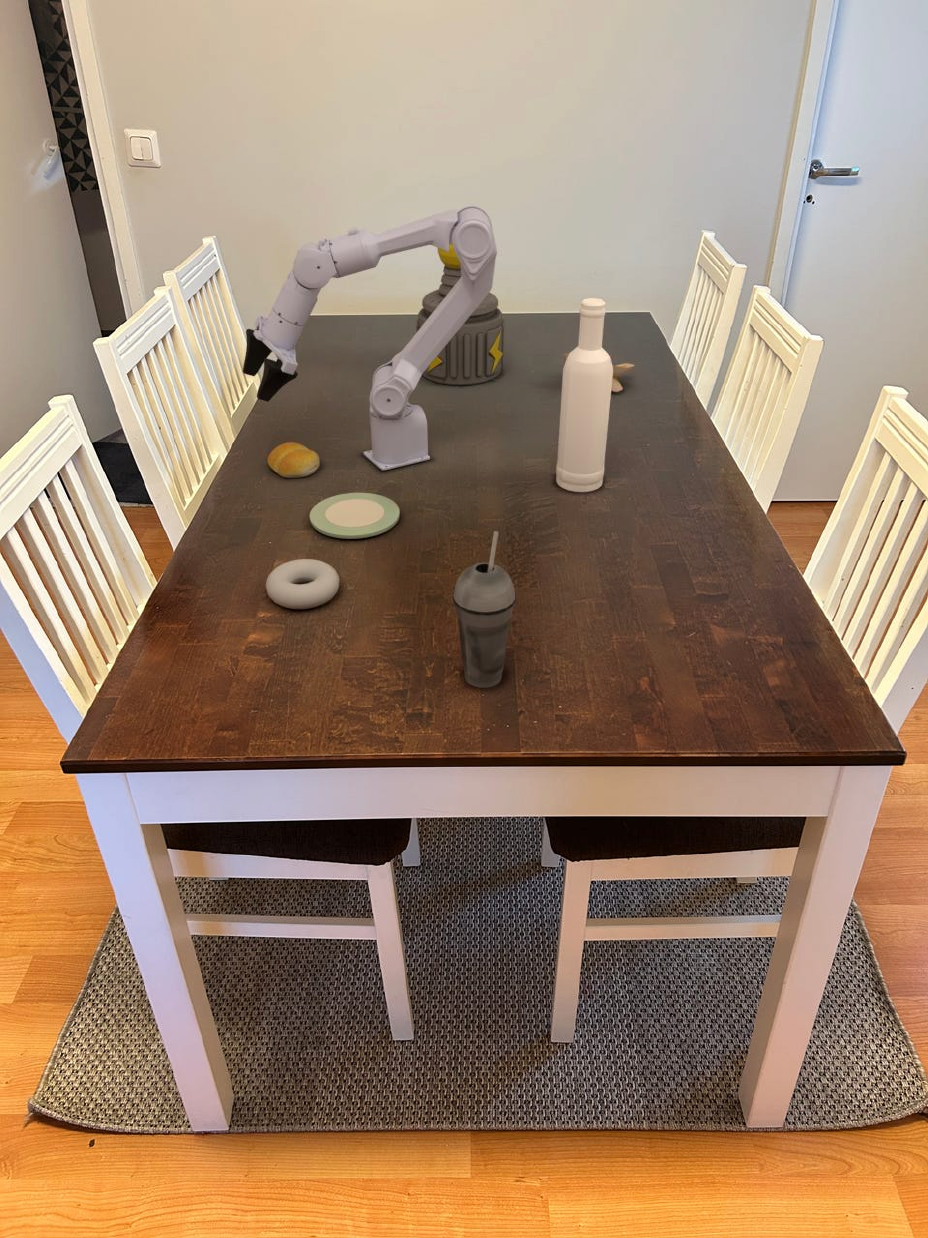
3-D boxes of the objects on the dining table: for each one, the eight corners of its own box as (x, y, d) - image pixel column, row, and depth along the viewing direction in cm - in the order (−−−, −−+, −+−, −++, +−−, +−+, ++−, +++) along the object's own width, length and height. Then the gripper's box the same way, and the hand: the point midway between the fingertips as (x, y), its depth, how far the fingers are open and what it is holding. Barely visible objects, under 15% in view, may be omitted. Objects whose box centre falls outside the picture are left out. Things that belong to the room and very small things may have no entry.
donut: (258, 586, 130) (280, 621, 122) (254, 565, 128) (277, 599, 120) (325, 569, 134) (351, 602, 126) (323, 548, 132) (349, 580, 124)
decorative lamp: (451, 351, 210) (450, 208, 193) (520, 368, 201) (526, 220, 184) (398, 374, 198) (392, 225, 181) (470, 394, 189) (471, 238, 172)
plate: (376, 491, 153) (376, 484, 153) (415, 527, 143) (415, 520, 143) (296, 511, 148) (295, 504, 147) (331, 550, 138) (331, 543, 137)
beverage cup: (451, 659, 116) (449, 517, 104) (509, 656, 116) (514, 515, 105) (455, 696, 110) (454, 550, 98) (516, 693, 110) (522, 547, 99)
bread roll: (289, 484, 156) (286, 462, 153) (261, 466, 161) (259, 445, 159) (330, 470, 160) (328, 448, 158) (302, 453, 166) (300, 432, 163)
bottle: (612, 481, 156) (630, 300, 139) (584, 497, 152) (599, 311, 134) (574, 467, 161) (587, 290, 144) (545, 482, 156) (556, 300, 139)
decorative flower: (650, 374, 193) (647, 330, 186) (627, 404, 187) (623, 359, 180) (585, 366, 200) (580, 323, 193) (561, 393, 194) (555, 350, 187)
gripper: (253, 285, 151) (221, 356, 157) (282, 332, 142) (247, 405, 149) (290, 298, 155) (258, 367, 162) (321, 344, 147) (285, 415, 154)
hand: (255, 386), depth 156 cm, fingers open, 7 cm apart
